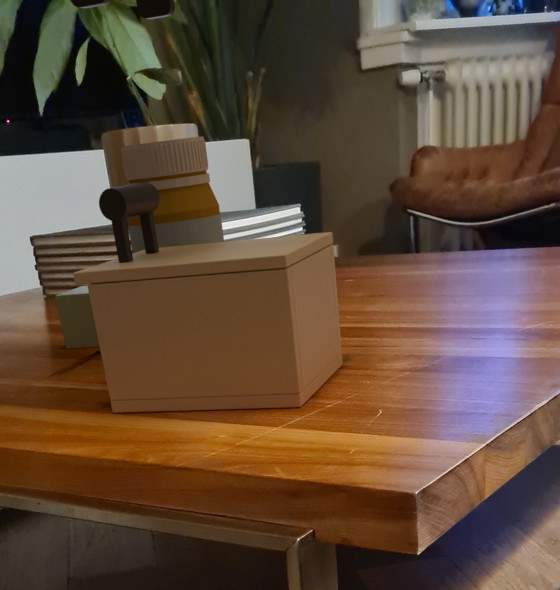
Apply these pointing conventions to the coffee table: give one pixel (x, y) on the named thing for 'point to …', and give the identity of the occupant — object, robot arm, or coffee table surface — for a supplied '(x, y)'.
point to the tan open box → (220, 337)
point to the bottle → (175, 192)
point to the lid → (188, 257)
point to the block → (77, 318)
